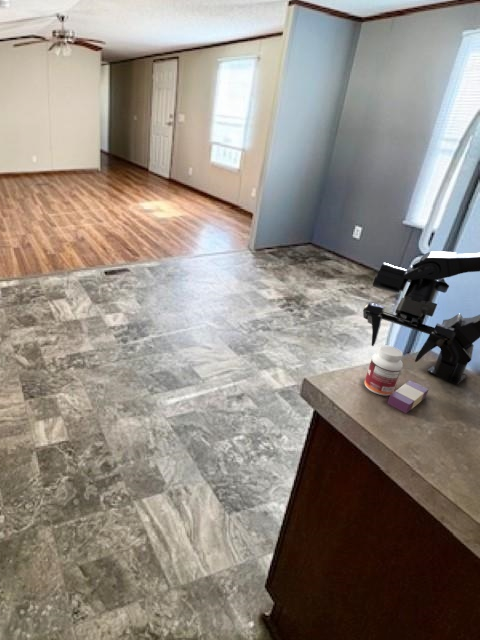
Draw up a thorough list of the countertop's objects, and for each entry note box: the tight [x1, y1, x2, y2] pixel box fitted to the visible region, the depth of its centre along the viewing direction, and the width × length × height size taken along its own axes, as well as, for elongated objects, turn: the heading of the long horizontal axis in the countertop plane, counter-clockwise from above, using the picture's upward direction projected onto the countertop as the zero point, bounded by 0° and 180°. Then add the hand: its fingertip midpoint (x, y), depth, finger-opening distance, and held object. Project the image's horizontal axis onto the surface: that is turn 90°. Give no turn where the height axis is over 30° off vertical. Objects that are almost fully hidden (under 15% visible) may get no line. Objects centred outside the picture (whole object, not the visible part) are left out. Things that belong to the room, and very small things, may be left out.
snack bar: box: [386, 380, 430, 414], centre depth 99 cm, size 10×4×2 cm, turn 123°
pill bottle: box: [364, 344, 404, 397], centre depth 101 cm, size 6×6×11 cm
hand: (393, 353), depth 104 cm, fingers open, 9 cm apart
